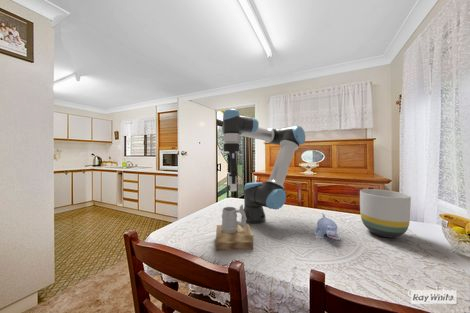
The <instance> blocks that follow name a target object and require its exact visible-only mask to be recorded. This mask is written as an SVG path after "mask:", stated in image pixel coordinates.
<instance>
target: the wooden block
mask: <svg viewBox="0 0 470 313" xmlns="http://www.w3.org/2000/svg"><path fill="white" fill-rule="evenodd" d="M249 224H250V223H246V225H245V226H244V228H242V227H241V226H239V225H238V228H237V231H236V232H234V233H225V232H223V231H222V228H221V225H222V224H217V225H216V230H215V231H216V234H215V244H216V245H215V247H216V248H215V251H217V252H218V251H235V250H237V251H238V250H252V249H254V234H253V232H252V229H251V227H250V225H249Z"/></svg>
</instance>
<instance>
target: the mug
mask: <svg viewBox="0 0 470 313" xmlns="http://www.w3.org/2000/svg"><path fill="white" fill-rule="evenodd" d="M237 213H239V214H240V215H241V218H242V217H243V220H242V219H241V221H239V220H237V218H238V214H237ZM221 219H222V220H221V221H222V222H221V224H220V225H221V228H222V231H223V232H225V233H234V232H236V231H237V228H238V225H239V226H241V227H242V228H244V226H245V225H246V224H247V222H246V219H247V218H246V215H245V212H244V204H241V205H240V206H239V209H237V208H236V207H233V206H225V207H223V208H222V213H221Z"/></svg>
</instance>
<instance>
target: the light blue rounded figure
mask: <svg viewBox="0 0 470 313" xmlns="http://www.w3.org/2000/svg"><path fill="white" fill-rule="evenodd" d="M321 215H322V217H321V218H319V219H318V220H317V222H316V228H315V229H314V231H313V233H314V234H315V237H316V238H317V239H318V238H319V239H324V237H325V235H327V237H328V238H330V239H332V240H336V241H340V240H341V238H340V236H339V235H338V233H337V231H338V225H337V223H336V221H334V220H332V219H331V218H329V217H326V216H325V214H324V213H323V212H321Z"/></svg>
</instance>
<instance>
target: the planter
mask: <svg viewBox="0 0 470 313" xmlns="http://www.w3.org/2000/svg"><path fill="white" fill-rule="evenodd" d="M411 200H412V196H411V195H409V194H407V193H404V192H399V191H393V190H385V189H372V188H366V189H364V188H363V189H360V190H359V210H360V211H359V213H360V219H361V222H362V224H363V225H364V227H366V229H367V230H369V231H370V232H372V233H373V234H374V235H378V236H379V237H383V238H391V239H392V238H398V237H400V236H403V235H404V234H405V233H407V231H408V229H409V226H410V221H411V206H412V204H411V203H412V202H411Z"/></svg>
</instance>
